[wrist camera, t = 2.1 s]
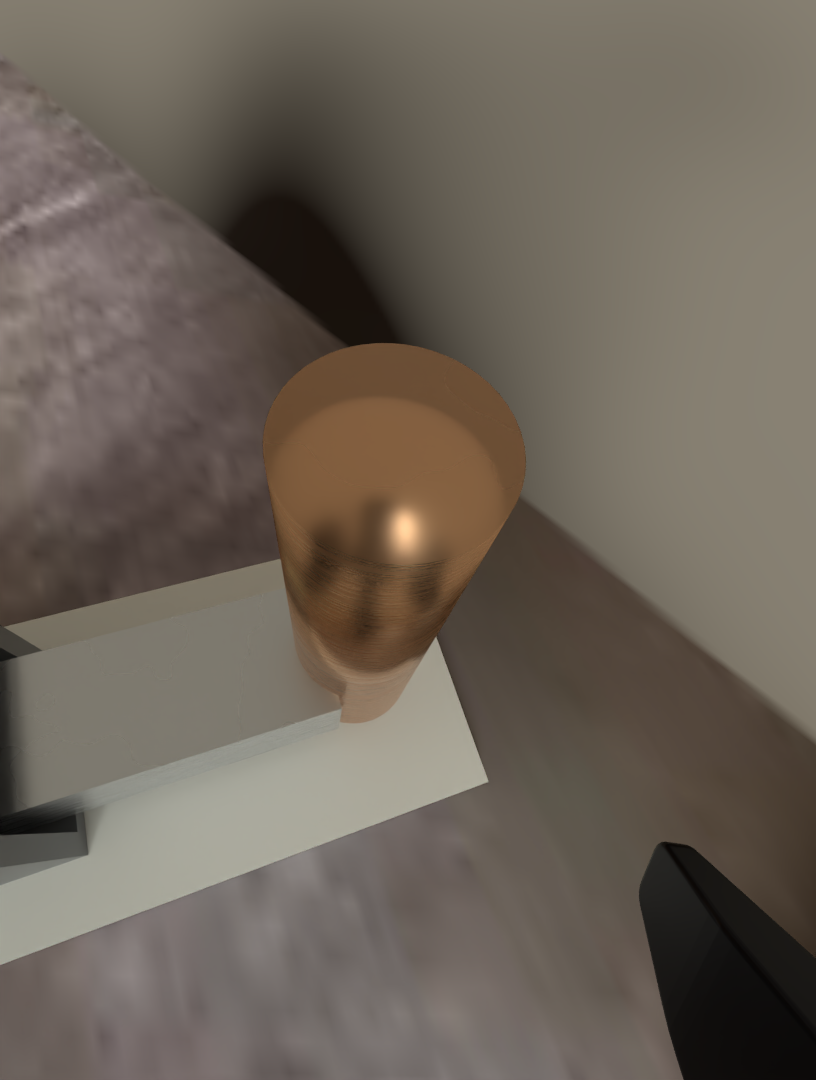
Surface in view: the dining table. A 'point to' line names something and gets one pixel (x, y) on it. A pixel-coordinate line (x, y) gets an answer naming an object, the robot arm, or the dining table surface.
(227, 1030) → the dining table surface
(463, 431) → the tube
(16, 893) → the tube stand
